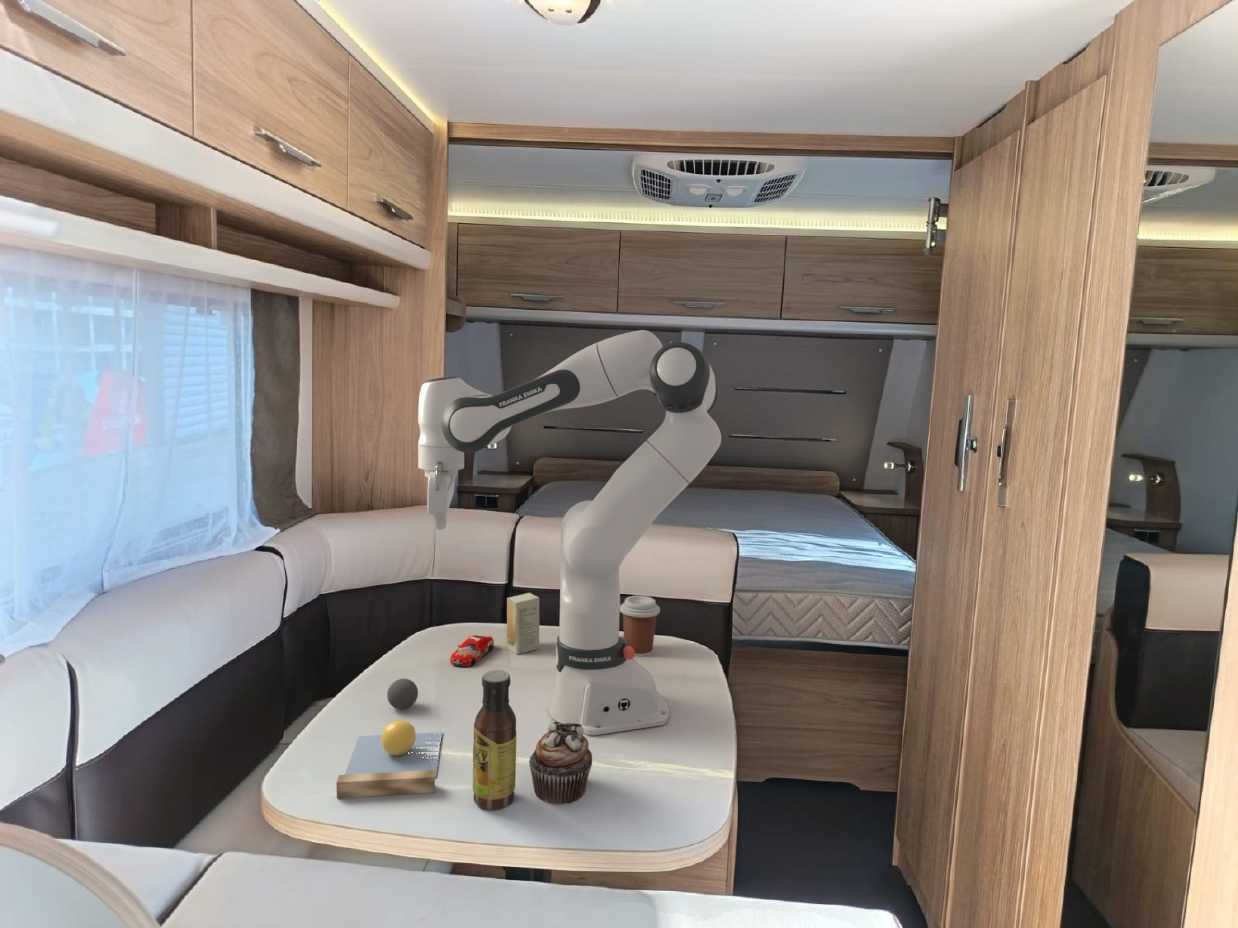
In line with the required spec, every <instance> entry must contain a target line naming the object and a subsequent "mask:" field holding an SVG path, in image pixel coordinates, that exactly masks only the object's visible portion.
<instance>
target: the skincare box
mask: <svg viewBox="0 0 1238 928" xmlns="http://www.w3.org/2000/svg"><path fill="white" fill-rule="evenodd" d="M506 619H507V620H506V634H507V635H506V637H507V638H506V639H507V640H506V643H507V644H506V646H507V647H506V649H507V650H509V651H510V652H512V653H513V654H515V655H521V654H525V653H528V652H531V651H534V650H538V649H540V597H539V596H537V595H534V594H533V593H531V592H527V593H523V594H518V595H513V596H510V597H507V598H506Z"/></svg>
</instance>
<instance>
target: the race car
mask: <svg viewBox="0 0 1238 928" xmlns="http://www.w3.org/2000/svg"><path fill="white" fill-rule="evenodd" d="M494 643H495V642H494V638H493V637H492V635H491V636H490V635H486V634H476V635H475V634H474V635H472V636H469V637H468V638H467V639H465V640H464V641H463V642H462V643H461V644H458V645H457V647H458V648H457V649H456V650H455V651H454V652H453V653H451V655H450V657H449V659H450V664H451V665H453V666H455V667H464V668H465V667H473V666H474V665H476V663H478V662H479V661H480V660H481V659H483V658H484V657H485V656H487V655H488V654H489V653H491V652H492V651H493V649H494V647H495V644H494Z"/></svg>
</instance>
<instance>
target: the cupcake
mask: <svg viewBox="0 0 1238 928" xmlns="http://www.w3.org/2000/svg"><path fill="white" fill-rule="evenodd" d="M547 729H548V732H546V733H544V734H543V735H542V737H541V738H540V739H539V740H538V742H537V743H536V746H535V749H534V750H533V751H534V752H533V753H532V755H531V756H529V758H528V759H529V761H528V763H529V770H530V774H531V778H532V784H533V790H534V794H535V796H536V797H537V798H538V800H540V801H542V802H544V803H548V804H550V805H551V804H552V805H566V804H567V805H568V804H572V803H574V802H577V801H578V800H580V799H581V798H583V796H584V795H585V793H586V788H587V782H588V778H589V775H590V771H591V769H592V766H593V754H592V751H591V750H590V749H589V740H588V739H587V738H586V736H585V735H584V734H585V733H584V729H583V728H582V725H580V724H576V723H566V724H561V723H560V722H557V721H556V720H554V722H550V723H549V725H548V728H547Z"/></svg>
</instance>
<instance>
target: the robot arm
mask: <svg viewBox="0 0 1238 928" xmlns="http://www.w3.org/2000/svg"><path fill="white" fill-rule="evenodd" d="M717 388H718V387H717V384H716V377H715V373H714V371H713V368H712V366H711V364H710V363H709V360H708V358H707V356H706V355H705V353H703V351H702V350H700V348H698V347H696V346H695V345H693V344H691V343H689V342H684V341H683V342H682V341H676V342H672V343H671V342H670V343H669V344H666V345H664V346H663V344H662V342H661V341H660V339H659V338H658V337H657V336H656V335H655V334H654V332H653V333H652V331H649V330H645V329H639V330H635V331H630V332H625V333H622V334H618V335H614V336H612V337H608V338H606V339H602V340H600V341H598V342H595V343H593V344H591V345H588V346H586V347H585V348H583V349H580V350H579V351H577V352H576V353H574V354H572V355H570V356H569V357H567V358H566V359H565V360H562V361H561V362H560V363H558V364H557V365H556V366H554V367H552V368H551V369H550V370H547V371H546V372H545V373H543V374H542V375H540V376H538V377H536V378H535V379H532V380H529V381H528V382H525V383H523V384H520V385H518V386H514V387H513V388H509V389H508V390H505V391H503V392H499V393H498V394H497V393H496V394H493V395H492V394H489V393H486V392H483V391H481V390H478V389H476V388H475V387H473V386H471V385H468V383H466V382H465V381H464V380H463V379H462V378H460V377H458V376H446V377H439V378H438V377H437V378H431V379H428V380H426V381H424V382H423V383H422V384H421V387H420V390H419V397H418V405H417V406H418V409H417V422H418V427H419V431H420V432H419V438H418V441H417V443H418V444H417V450H418V451H417V453H418V454H417V461H418V462H417V464H418V465H417V467H418V469H419V470H422V471H423V470H424V477H425V478H428V480H427V500H426V501H427V503H426V505H427V514H428V515H429V516H431V515H432V516H434V518H435V528H436V530H445V529H446V527H447V516H448V513H449V512H448V511H449V508H450V506H451V503H452V500H453V497H454V493H455V486H456V478H457V477H458V470H459V471H460V470H464V468H465V453H466V454H471V453H473V454H474V453H477V452H479V451H481V450H483V449H484V448H486V447H488V446H491V445H493V444H495V443H498V442H500V441H501V440H503V439H504V438H506V437H507V436H508V435H509V433H510V432H511V430H512V427H513V426H516V425H517V424H521V423H523V422H525V421H527V420H530V419H533V418H536V417H538V416H540V415H543V414H545V413H546V414H547V413H549V412H550V413H551V412H553V411H559V410H560V411H561V410H566V409H576V408H577V409H578V408H584V407H590V406H595V405H599V404H603V403H606V402H610V401H613V400H616V399H618V398H620V397H623V396H625V395H628V394H629V393H632V392H636V391H641V390H648V391H651V392H652V393H653V394H654V396H655V397H656V399H657V400H658V402H659V403H660V404H661V405H662V409H663V410H665V417H664V420H663V422H662V423H661V425H660V426H659V428H658V427H657V429H656V430H655V431H654V432H653V434H651V435H650V436H649V437H648V438H647V439H646V440H645V441H644V442H643V443H642V444H641V445H640V446H639V447H638V448H637V449H636V450H635V451H634V452H633V453H632V454H631V455H630V456H629V457H628V458H627V459H626V460H625V461H624V462H623V463H622V464H621V465H620V466H619V467H618V468H617V469H616V470H614V471H615V472H614V473H613V474H612V476H611V477H610V478H609V480H608V481H607V482H606V484H605V485H604V486H603V487H602V489H601V490H600V491H599V492H598V493H597V495H596V496H594V498H593V499H592V500H583V501H580V502H578V503H576V504H575V505H573V506H571V507H570V508H569V509H568V510H567V512H566V513H565V514H564V516H563V518H562V521H561V525H560V526H561V527H560V567H559V568H560V575H559V576H560V578H559V579H560V580H559V584H560V586H559V588H560V590H559V596H560V597H559V627H558V628H559V629H558V631H559V633H558V634H559V635H558V636H557V638H556V645H555V666H556V677H555V682H554V683H555V684H554V687H553V688H554V689H553V693H552V696H551V700H550V702H549V703H550V704H549V706H548V714H549V715H550V717H551V718H552V719H553V720H554V721H557V722H560V723H561V724H566V723H576V724H580V725H582V728H583V729H584V733H583V734H586V735H588V736H598V735H605V734H611V733H612V734H613V733H619V732H625V731H631V730H637V729H644V728H652V727H660V726H663V725H666V724H667V723H668V721H669V719H670V709H669V708H670V707H669V706H668V702H667V701H666V699H665V698H664V697H663V695H662V694H661V693H660V692H659V691H658V690H657V686H656V683H655V679H654V677H653V676H652V675H651V673H650V672H649V670H647V669H646V668H645V667H644V666H643V665H641V664H640V663H638V662H637V661H636V660H634V658H635V657H636V656H634V655H635V652H634V650H633V648H632V647H631V646H629V643H628V641H626V640H625V638H624V635H621V636H620V617H621V616H620V613H621V612H620V605H621V594H620V593H621V591H620V566H621V565H622V563H623V561H624V559H625V558H626V557H627V556H628V554H629V553H630V552H631V551H632V549H633V548H634V547H635V546H636V545H637V543H638V542H639V541H640V539H641V538H642V537H643V535H644V534H645V533H646V531H648V528H649V527H651V525H652V523H653V522H654V521H655V520H656V519H657V517H658V516H659V515H660V514H661V513H662V512H663V511H664V510H665V508H667V507H668V506H669V504H670V503H672V502H673V501H674V500H675V499H676V498H677V496H678V495H680V493H682V492H683V490H685V488H687V487H688V486H689V485H690V484H691V483H692V482H693V481H694V480H695V478H697V476H698V475H699V474H700V473H701V472H702V471H703V469H704V468H705V467H706V466H707V465H708V463H709V462H710V460H711V459H712V458H713V457H714V455H715V453H717V451H718V450H719V448H720V446H721V443H722V433H721V431H720V428H719V426H718V424H717V423H716V421H715V420H714V419H713V418H712V417H711V416H710V413H711V412H712V410H713V409H714V407H715V405H716V402H717V398H718V389H717Z"/></svg>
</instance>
